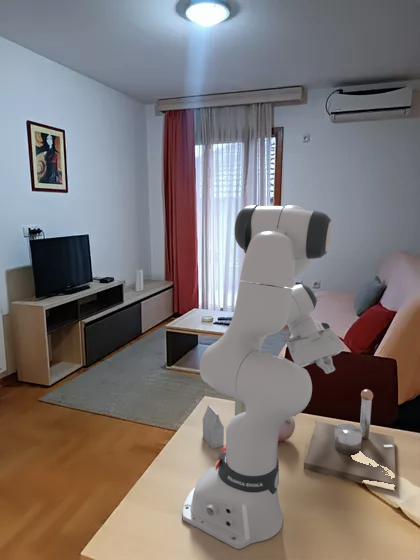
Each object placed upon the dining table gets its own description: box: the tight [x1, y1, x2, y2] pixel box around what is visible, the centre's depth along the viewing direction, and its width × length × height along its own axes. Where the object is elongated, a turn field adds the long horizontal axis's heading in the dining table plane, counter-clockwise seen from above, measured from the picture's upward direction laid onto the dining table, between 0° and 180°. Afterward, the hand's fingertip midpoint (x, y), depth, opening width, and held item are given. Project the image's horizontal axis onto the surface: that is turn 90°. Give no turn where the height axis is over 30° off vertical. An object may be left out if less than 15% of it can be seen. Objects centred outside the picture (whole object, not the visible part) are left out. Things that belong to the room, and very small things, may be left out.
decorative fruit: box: [278, 416, 296, 442], centre depth 120 cm, size 9×8×10 cm
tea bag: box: [202, 404, 225, 450], centre depth 119 cm, size 4×7×10 cm, turn 24°
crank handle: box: [334, 388, 374, 455], centre depth 113 cm, size 13×7×15 cm, turn 127°
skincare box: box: [234, 398, 246, 417], centre depth 132 cm, size 6×4×12 cm
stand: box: [303, 421, 397, 486], centre depth 113 cm, size 22×22×2 cm
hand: (331, 372), depth 124 cm, fingers closed
